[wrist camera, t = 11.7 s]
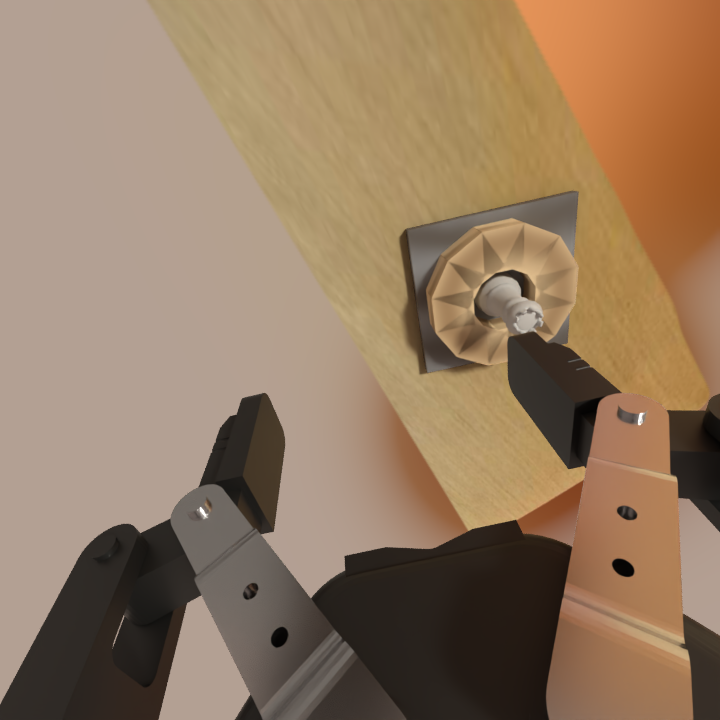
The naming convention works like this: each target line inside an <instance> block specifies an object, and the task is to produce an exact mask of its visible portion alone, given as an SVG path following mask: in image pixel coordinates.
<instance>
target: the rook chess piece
mask: <svg viewBox="0 0 720 720" xmlns="http://www.w3.org/2000/svg"><path fill="white" fill-rule="evenodd" d="M475 303H476V305H477V307H478V309H480V310H481V311H482V312H484V313H485V314H487V315H489V316H495V317H499V316H500V317H502V320H503V321H504V323H506V327H507V329H508V331H510V332H511V333H513V334H515V335H518V334H523V333H527V332H531V331H534V332H537V331H536V330H535V329H536V328H537V327H538V326H539V327H542V325H543V323H544V322H543V321H542V318H543V317H544V316H543V310H542V308H541V306H540V305H539V304H538V303H537V302H535V301H530V300H528V299H527V298H524V297H521V288H520V286H519V284H518V282H517V281H516V280H515V279H514V278H513V277H512V276H511V275H509V274H508V273H504V272H498V273H495V274H494V275H493V276H491V277H490V278H489V279H487V280H486V281H485V282H484V283H482V284H481V286H480V288H479V290H478V292H477V294H476V296H475Z"/></svg>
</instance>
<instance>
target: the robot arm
mask: <svg viewBox="0 0 720 720" xmlns="http://www.w3.org/2000/svg"><path fill="white" fill-rule="evenodd" d="M507 354H508V380H509V385H510V388H511V390H512V392H513V394H514V396H515V397H516V398H517V400H518V401H519V402H520V404H521V405H522V407H523V408H524V409H525V411H526V412H527V413H528V415H529V416H530V417H531V419H532V420H533V422H534V423H535V424H536V426H537V427H538V428H539V430H540V431H541V432H542V434H543V435H544V436H545V438H546V439H547V441H548V442H549V443H550V445H551V446H552V447H553V449H554V450H555V451H556V453H557V454H558V456H559V457H560V458H561V460H562V461H563V462H564V464H565V465H566V466H567V468H568V469H572V468H577V467H581V466H584V467H585V468H586V473H585V478H584V484H583V489H582V495H581V501H580V506H579V512H578V518H577V523H576V529H575V534H574V540H573V546H572V547H571V546H569V545H567V544H565V543H563V542H560V541H557V540H554V539H551V538H547V537H543V536H538V535H533V534H523V533H522V531H521V529H520V527H519V525H518V523H517V521H516V520H513V521H509V522H504V523H499V524H494V525H490V526H485V527H480V528H475V529H472V530H470V531H468V532H466V533H465V534H462V535H460V536H458V537H456V538H454V539H452V540H450V541H448V542H446V543H444V544H442V545H440V546H438V547H436V548H433V549H413V548H411V549H410V548H390V547H389V548H388V547H385V548H380V549H376V550H371V551H366V552H362V553H357V554H352V555H347V556H345V571H343V572H342V573H340V574H338V575H336V576H335V577H334V578H332V579H330V580H329V581H328V582H327V583H326V584H324V585H323V586H322V587H321V588H320V589H319V590H318V591H317V592H316V593H315V594H314V595H313V597H312V598H310V597H309V596H308V594H307V593H306V592H305V591H304V589H303V588H302V587H301V585H300V584H299V583H298V582H297V580H296V579H295V578H294V576H293V575H292V574H291V573H290V571H289V570H288V569H287V567H286V566H285V565H284V564H283V562H282V561H281V560H280V559H279V557H278V556H277V555H276V553H275V552H274V551H273V550H272V548H271V547H270V546H269V544H268V543H267V542H266V540H265V539H264V538H263V537H262V536H261V534H264V533H269V532H274V526H275V518H276V510H277V503H278V495H279V488H280V480H281V473H282V465H283V457H284V450H285V437H284V432H283V429H282V426H281V424H280V421H279V419H278V417H277V414H276V412H275V410H274V408H273V405H272V403H271V401H270V399H269V397H268V395H267V394H266V393H262V394H258V395H254V396H249V397H245V398H242V400H241V403H240V406H239V409H238V412H237V415H233V416H230V417H229V418H228V419H227V421H226V422H225V423H224V424H223V425H222V427H221V428H220V430H219V433H218V435H217V438H216V443H215V444H214V446H213V449H212V453H211V455H210V458H209V460H208V463H207V466H206V468H205V471H204V474H203V477H202V479H201V482H200V485H199V487H198V488H196V489H194V490H193V491H191V492H189V493H188V494H187V495H185V496H184V497H183V498H182V499H181V500H180V501H179V502H178V504H177V505H176V506H175V508H174V510H173V512H172V514H171V518H170V519H169V520H167V521H165V522H163V523H161V524H158V525H156V526H155V527H152V528H150V529H148V530H146V531H144V532H142V533H140V532H139V531H138V530H137V529H136V528H135V527H134V526H133V525H131V524H121V525H117V526H114V527H112V528H110V529H108V530H106V531H105V532H103V533H102V534H100V535H99V536H97V537H96V538H95V539H94V540H93V541H92V542H91V543H90V544H89V545H88V546H87V547H86V548H85V549H84V551H83V552H82V553H81V555H80V557H79V558H78V560H77V562H76V564H75V566H74V568H73V570H72V571H71V573H70V575H69V577H68V579H67V581H66V583H65V585H64V586H63V588H62V590H61V592H60V594H59V596H58V598H57V599H56V601H55V603H54V605H53V607H52V609H51V611H50V613H49V614H48V617H47V618H46V620H45V622H44V624H43V626H42V627H41V629H40V631H39V633H38V635H37V637H36V639H35V641H34V643H33V644H32V646H31V648H30V650H29V652H28V654H27V655H26V657H25V659H24V661H23V663H22V665H21V667H20V668H19V670H18V672H17V674H16V676H15V678H14V680H13V682H12V683H11V685H10V687H9V689H8V691H7V693H6V695H5V697H4V698H3V700H2V702H1V704H0V720H158V719H159V715H160V711H161V707H162V703H163V699H164V695H165V691H166V686H167V682H168V678H169V674H170V670H171V666H172V662H173V658H174V654H175V650H176V646H177V642H178V638H179V634H180V630H181V626H182V621H183V617H184V613H185V609H186V605H187V603H188V602H190V601H191V600H193V599H195V598H197V597H199V596H201V595H202V597H203V599H204V601H205V603H206V605H207V607H208V609H209V611H210V613H211V615H212V617H213V619H214V621H215V623H216V625H217V627H218V629H219V631H220V633H221V635H222V637H223V639H224V641H225V643H226V645H227V647H228V650H229V652H230V654H231V656H232V657H233V660H234V662H235V664H236V665H237V668H238V669H239V671H240V674H241V676H242V678H243V680H244V682H245V684H246V686H247V688H248V690H249V692H250V696H249V698H248V699H247V701H246V703H245V704H244V706H243V707H242V709H241V711H240V712H239V714H238V716H237V717H236V719H235V720H720V636H719V635H718V634H716V633H714V632H713V631H711V630H709V629H708V628H706V627H704V626H703V625H701V624H700V623H698V622H696V621H695V620H693V619H691V618H690V617H688V616H686V615H685V614H683V606H682V581H681V556H680V530H679V505H678V498H686V499H690V500H691V501H692V502H693V503H694V504H695V506H696V507H697V508H698V509H699V510H700V511H701V512H702V513H703V514H704V515H705V516H706V517H707V519H708V520H709V521H710V522H711V523H712V524H713V525H714V526H715V527H716V528H717V529H718V531H719V532H720V394H718V395H715V396H713V397H712V398H711V399H710V400H709V403H708V406H707V409H706V411H671V410H666V409H665V408H664V407H663V406H662V405H661V404H660V403H658V402H656V401H655V400H653V399H651V398H648V397H645V396H642V395H637V394H631V393H621V392H620V391H619V390H618V389H617V388H616V387H614V386H613V385H612V384H611V383H610V382H609V381H608V380H606V379H605V378H604V377H603V376H602V375H601V374H599V373H598V372H597V371H596V370H595V369H594V368H590V365H589V364H588V363H587V362H585V361H584V360H581V357H580V356H578V355H577V354H576V353H575V352H574V351H573V350H571V349H570V348H568V347H565V346H563V345H560V344H558V343H555V342H553V343H547V342H546V341H545V340H544V339H543V338H541V337H540V336H539V335H538V334H537V333H536V332H534V331H531V332H527V333H523V334H518V335H514V336H510V337H509V338H508V341H507ZM123 615H124V616H125V617H124V620H123V622H122V625H121V628H120V630H119V633H118V636H117V638H116V641H115V644H114V646H113V643H114V639H115V637H116V634H117V631H118V629H119V626H120V623H121V621H122V618H123ZM112 648H113V649H112Z"/></svg>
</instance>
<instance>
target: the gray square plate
mask: <svg viewBox="0 0 720 720" xmlns="http://www.w3.org/2000/svg"><path fill="white" fill-rule="evenodd" d="M577 205H578V192H577V191H569V192H565V193H560V194H556V195H552V196H547V197H543V198H539V199H534V200H530V201H526V202H521V203H517V204H512V205H508V206H504V207H499V208H495V209H491V210H486V211H482V212H478V213H473V214H469V215H465V216H460V217H456V218H451V219H447V220H443V221H438V222H434V223H430V224H425V225H421V226H417V227H412V228H408V229H406V235H407V242H408V249H409V256H410V263H411V270H412V277H413V284H414V291H415V298H416V305H417V312H418V318H419V325H420V332H421V339H422V346H423V353H424V360H425V367H426V370H427V373H429V372H433V371H438V370H443V369H448V368H452V367H457V366H462V365H467V364H471V363H476V362H477V363H481V364H484V365H493V364H498V363H503V362H508V354H507V341H508V338H509V337H510V336H514V335H515V334H513V333H511V332H510V331H508V329H507V327H506V323H504V321H503V320H502V317H500V316H499V317H495V316H489V315H487V314H485V313H484V312H482V311H481V310H480V309H478V307H477V305H476V303H475V296H476V294H477V292H478V290H479V288H480V286H481V284H482V283H484V282H485V281H486V280H487V279H489V278H490V277H491V276H493V275H494V274H495V273H498V272H504V273H508V274H509V275H511V276H512V277H513V278H514V279H515V280H516V281H517V282H518V284H519V286H520V288H521V297H524V298H527V299H528V300H530V301H535V302H537V303H538V304H539V305H540V306H541V308H542V310H543V316H544V317H543V318H542V321H543V322H544V323H543V325H542V327H539V326H538V327H537V328H536V329H535V330H536V331H537V332H536V333H537V334H538V335H539V336H540V337H541V338H543V339H544V340H545V341H546V342H547V343H553V342H555V343H558V344H560V345H562V344H567V343H568V329H569V315H570V311H571V310H572V308H573V306H574V305H575V303H576V291H577V279H578V265H577V263H576V261H575V260H574V246H575V233H576V219H577Z"/></svg>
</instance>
